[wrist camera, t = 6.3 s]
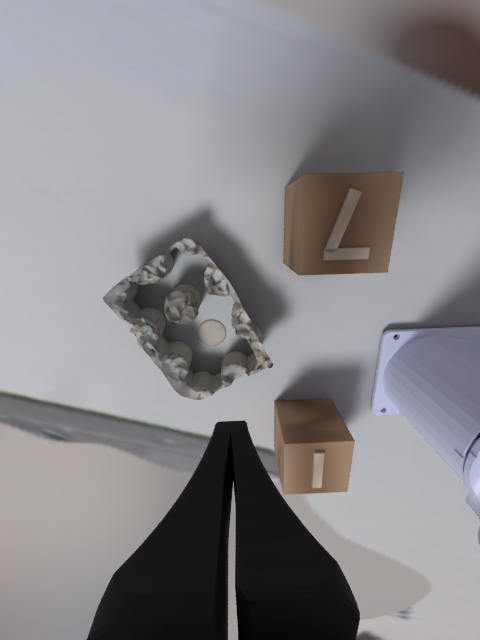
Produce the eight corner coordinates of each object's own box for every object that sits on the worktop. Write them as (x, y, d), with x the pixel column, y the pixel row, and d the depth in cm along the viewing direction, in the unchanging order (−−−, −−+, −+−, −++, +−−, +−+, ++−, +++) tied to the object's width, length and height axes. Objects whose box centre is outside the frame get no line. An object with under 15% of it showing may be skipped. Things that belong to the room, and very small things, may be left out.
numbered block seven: (358, 185, 18) (406, 170, 13) (350, 260, 20) (389, 272, 15) (284, 187, 18) (304, 173, 13) (282, 262, 20) (299, 275, 15)
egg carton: (272, 345, 22) (281, 371, 18) (196, 385, 23) (189, 418, 19) (201, 228, 19) (194, 229, 15) (116, 281, 20) (89, 295, 16)
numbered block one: (330, 397, 24) (355, 443, 19) (326, 441, 25) (348, 494, 21) (274, 400, 24) (285, 446, 19) (274, 444, 25) (283, 497, 20)
